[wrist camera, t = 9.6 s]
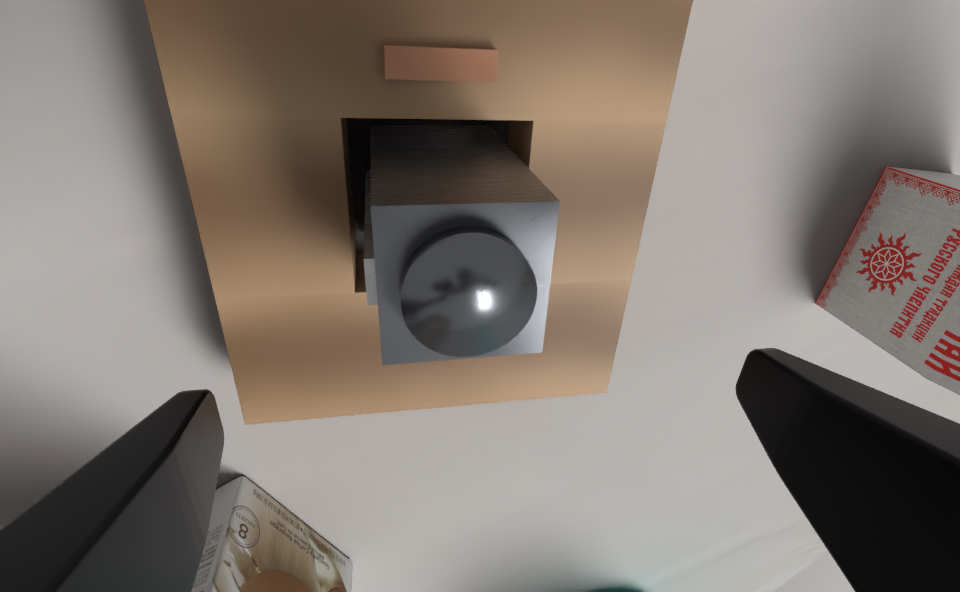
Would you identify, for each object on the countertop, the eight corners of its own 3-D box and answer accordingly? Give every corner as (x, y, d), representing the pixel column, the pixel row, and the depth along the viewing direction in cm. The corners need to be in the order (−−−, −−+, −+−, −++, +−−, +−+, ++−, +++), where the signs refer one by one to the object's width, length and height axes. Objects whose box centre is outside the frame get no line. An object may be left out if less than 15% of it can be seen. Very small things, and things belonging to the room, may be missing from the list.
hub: (581, 350, 24) (609, 397, 21) (260, 373, 21) (243, 430, 18) (656, -74, 16) (718, -90, 13) (159, -120, 13) (102, -153, 10)
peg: (487, 125, 18) (569, 210, 10) (483, 231, 20) (549, 366, 12) (363, 125, 17) (357, 217, 10) (371, 236, 19) (371, 382, 12)
